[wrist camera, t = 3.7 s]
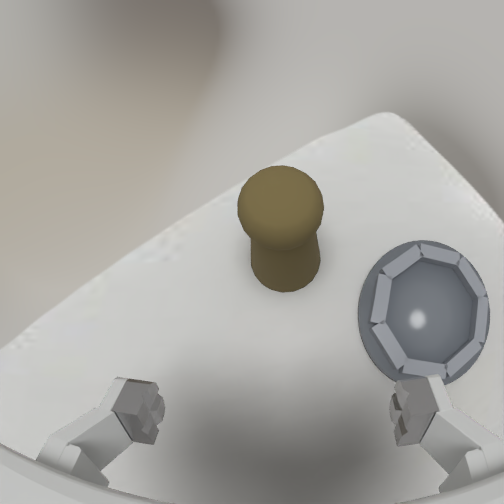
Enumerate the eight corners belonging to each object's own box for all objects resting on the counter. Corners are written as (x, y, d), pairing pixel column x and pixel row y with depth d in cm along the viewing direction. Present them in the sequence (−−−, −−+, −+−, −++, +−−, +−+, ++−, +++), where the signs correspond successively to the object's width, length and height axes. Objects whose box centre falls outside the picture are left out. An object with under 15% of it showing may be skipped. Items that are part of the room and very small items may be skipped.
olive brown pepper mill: (330, 240, 28) (346, 168, 18) (304, 303, 27) (310, 259, 16) (267, 217, 30) (252, 139, 20) (239, 276, 28) (206, 220, 18)
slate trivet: (506, 328, 23) (515, 325, 21) (406, 418, 22) (413, 421, 20) (435, 219, 28) (442, 211, 26) (328, 292, 27) (330, 287, 25)
